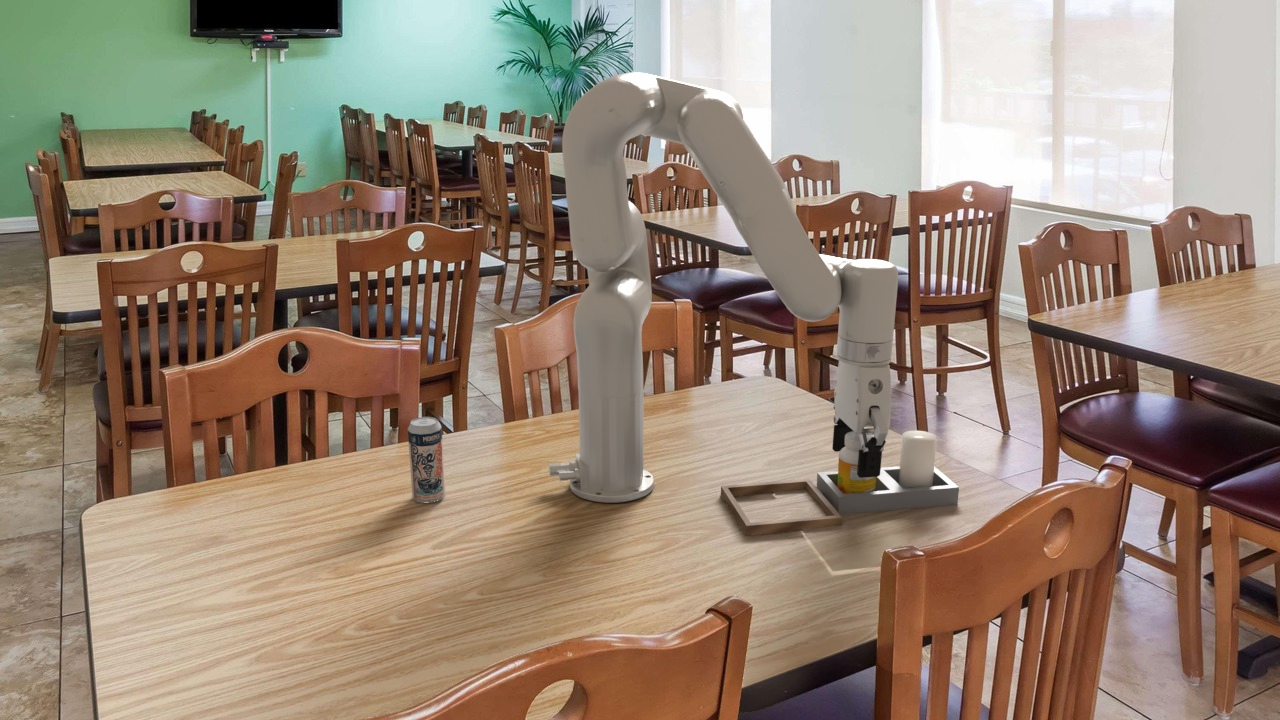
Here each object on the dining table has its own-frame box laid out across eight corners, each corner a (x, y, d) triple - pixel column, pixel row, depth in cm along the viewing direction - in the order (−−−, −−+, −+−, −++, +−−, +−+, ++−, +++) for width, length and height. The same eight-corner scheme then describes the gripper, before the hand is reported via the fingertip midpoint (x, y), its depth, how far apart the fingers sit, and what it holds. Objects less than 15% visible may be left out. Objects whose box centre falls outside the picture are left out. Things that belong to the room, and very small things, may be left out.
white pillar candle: (906, 501, 156) (910, 443, 153) (892, 488, 161) (896, 431, 158) (937, 499, 157) (942, 441, 154) (923, 486, 161) (927, 429, 159)
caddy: (838, 516, 152) (839, 497, 151) (816, 491, 161) (817, 472, 160) (957, 506, 155) (959, 487, 155) (929, 482, 164) (931, 463, 163)
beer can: (413, 506, 156) (408, 428, 153) (411, 493, 160) (406, 417, 157) (447, 503, 157) (442, 425, 154) (444, 490, 162) (439, 414, 158)
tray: (746, 535, 147) (746, 525, 146) (720, 495, 159) (720, 485, 159) (841, 527, 149) (842, 517, 149) (809, 488, 162) (809, 478, 161)
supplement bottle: (835, 490, 160) (838, 428, 157) (872, 491, 160) (876, 429, 157) (838, 505, 155) (841, 442, 152) (876, 507, 154) (880, 443, 152)
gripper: (915, 366, 143) (904, 485, 148) (866, 331, 159) (857, 440, 164) (862, 368, 142) (852, 489, 147) (817, 333, 158) (810, 442, 163)
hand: (855, 463), depth 156 cm, fingers open, 9 cm apart
